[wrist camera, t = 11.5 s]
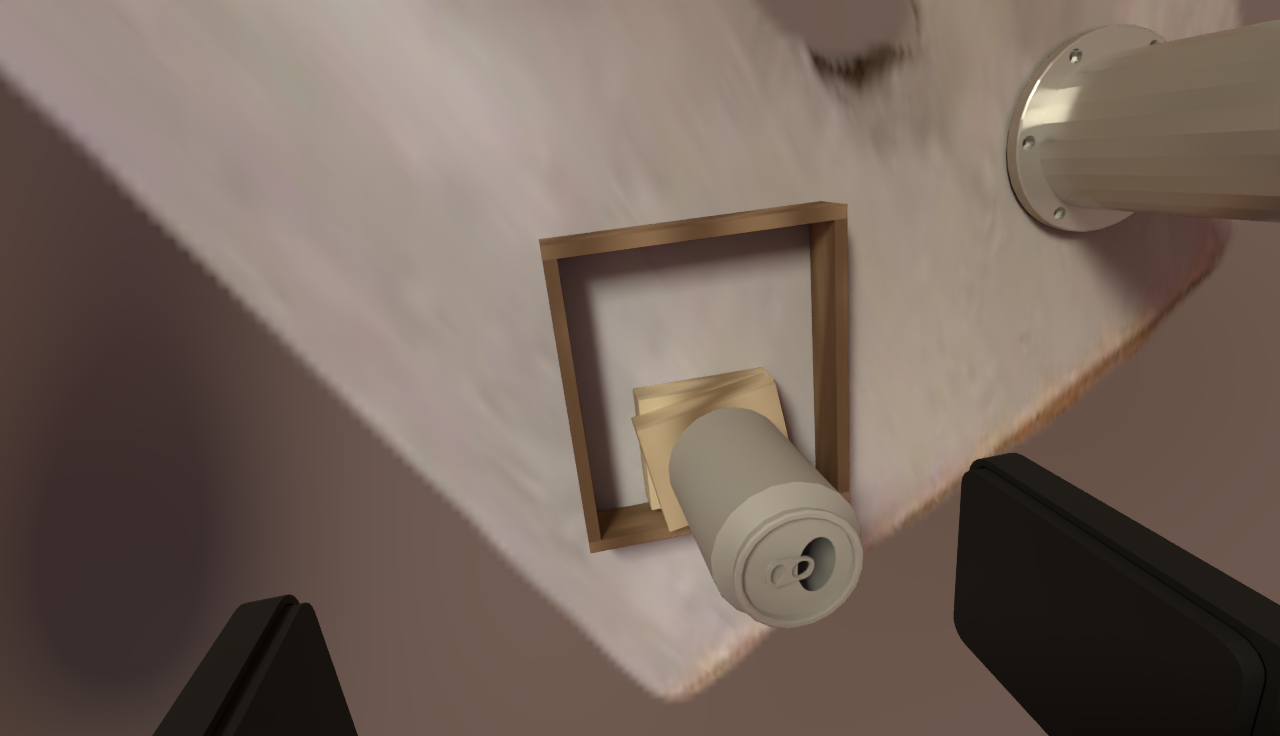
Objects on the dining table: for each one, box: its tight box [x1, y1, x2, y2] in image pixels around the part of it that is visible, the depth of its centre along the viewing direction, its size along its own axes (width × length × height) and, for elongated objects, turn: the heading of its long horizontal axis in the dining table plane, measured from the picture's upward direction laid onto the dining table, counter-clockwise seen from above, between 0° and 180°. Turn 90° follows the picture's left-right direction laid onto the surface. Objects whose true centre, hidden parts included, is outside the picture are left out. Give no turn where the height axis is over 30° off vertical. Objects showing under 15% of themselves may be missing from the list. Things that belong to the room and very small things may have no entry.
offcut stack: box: [631, 367, 789, 532], centre depth 41 cm, size 10×9×4 cm
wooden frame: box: [539, 201, 849, 553], centre depth 40 cm, size 18×20×4 cm
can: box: [668, 407, 864, 628], centre depth 33 cm, size 8×8×12 cm
